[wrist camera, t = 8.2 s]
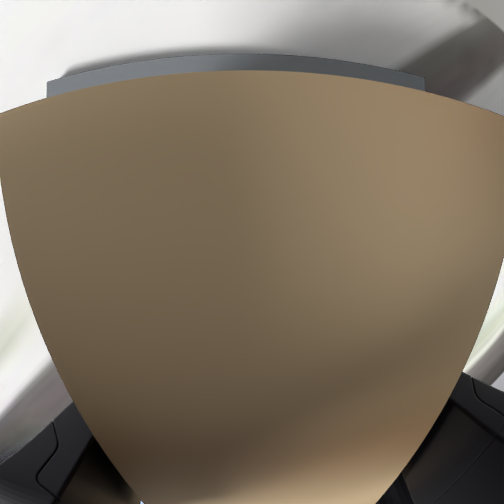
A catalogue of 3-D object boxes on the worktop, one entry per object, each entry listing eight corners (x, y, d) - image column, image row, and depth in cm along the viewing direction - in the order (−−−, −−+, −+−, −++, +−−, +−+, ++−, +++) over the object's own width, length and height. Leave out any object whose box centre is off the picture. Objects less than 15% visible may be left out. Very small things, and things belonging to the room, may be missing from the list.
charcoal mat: (415, 78, 9) (424, 77, 9) (365, 401, 15) (369, 408, 15) (54, 83, 8) (46, 81, 7) (128, 420, 14) (127, 429, 13)
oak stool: (318, 411, 13) (356, 523, 7) (185, 422, 12) (182, 544, 7) (350, 116, 8) (521, 123, 3) (136, 120, 8) (-5, 114, 2)
